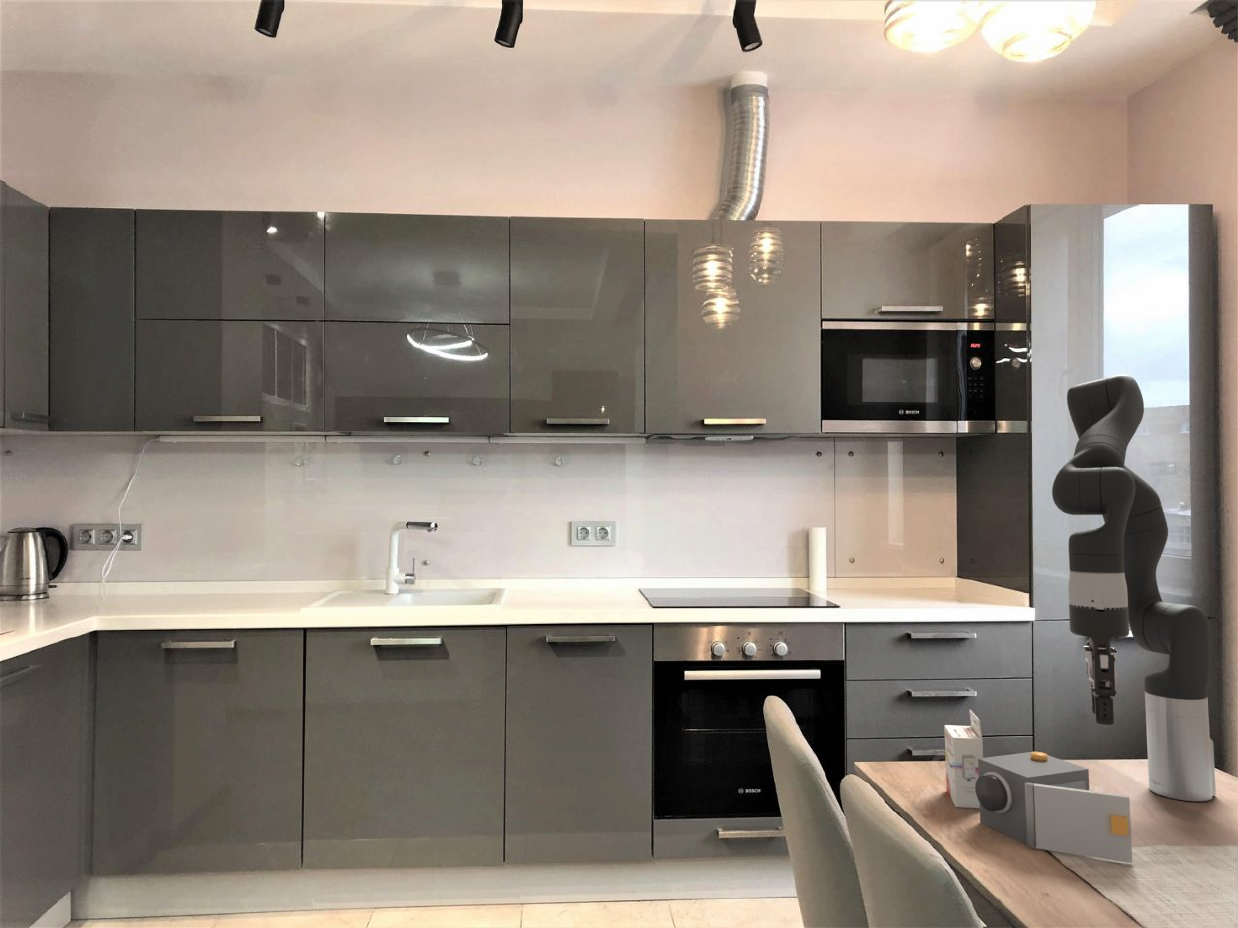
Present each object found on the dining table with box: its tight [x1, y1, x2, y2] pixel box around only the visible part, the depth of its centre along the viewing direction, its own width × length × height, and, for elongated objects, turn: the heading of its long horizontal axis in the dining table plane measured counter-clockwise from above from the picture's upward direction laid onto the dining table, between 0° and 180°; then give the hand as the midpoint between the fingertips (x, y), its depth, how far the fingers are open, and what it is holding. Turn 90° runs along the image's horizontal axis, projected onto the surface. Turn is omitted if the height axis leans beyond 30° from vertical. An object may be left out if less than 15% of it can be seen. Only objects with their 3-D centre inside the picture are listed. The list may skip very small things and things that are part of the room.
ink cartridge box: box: [943, 709, 984, 809], centre depth 140 cm, size 9×5×15 cm, turn 168°
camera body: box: [975, 750, 1090, 846], centre depth 127 cm, size 14×10×11 cm
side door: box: [1025, 782, 1133, 864], centre depth 116 cm, size 13×2×9 cm, turn 64°
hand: (1102, 718), depth 118 cm, fingers open, 5 cm apart
